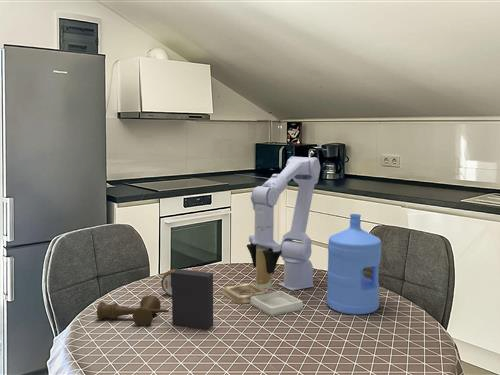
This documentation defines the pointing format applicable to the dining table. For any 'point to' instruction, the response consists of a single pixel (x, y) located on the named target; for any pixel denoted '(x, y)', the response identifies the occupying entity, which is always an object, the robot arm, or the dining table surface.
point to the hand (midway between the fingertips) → (263, 269)
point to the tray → (276, 303)
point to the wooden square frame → (233, 290)
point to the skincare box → (262, 269)
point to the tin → (168, 282)
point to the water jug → (353, 270)
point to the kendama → (132, 310)
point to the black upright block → (192, 299)
